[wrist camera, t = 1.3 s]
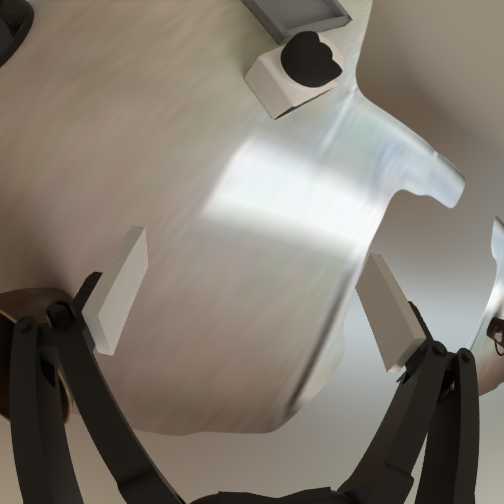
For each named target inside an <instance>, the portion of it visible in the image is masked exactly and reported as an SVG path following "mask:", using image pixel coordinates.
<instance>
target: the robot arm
mask: <svg viewBox="0 0 504 504" xmlns="http://www.w3.org/2000/svg"><path fill="white" fill-rule="evenodd" d="M33 18H34V11H33V8H32V7H31V5H30V4H29V3H28V2H27V1H26V0H0V67H1V66H2V65H3V64H4V63H5V62H6V61H7V60H8V59H9V58H10V57H11V56H12V55H13V53H14V52H15V51H16V50H17V49H18V47H19V46H20V44H21V43H22V42H23V40H24V38H25V37H26V35H27V33H28V32H29V30H30V27H31V25H32V22H33ZM147 269H148V257H147V246H146V233H145V227H139V226H132V228H131V229H130V231H129V232H128V234H127V235H126V237H125V238H124V240H123V241H122V243H121V244H120V246H119V248H118V249H117V251H116V252H115V254H114V256H113V257H112V259H111V260H110V262H109V264H108V265H107V267H106V269H105V270H104V272H103V273H101V272H93V273H92V274H91V275H89V276H88V277H87V278H86V280H85V281H84V283H83V285H82V286H81V288H80V290H79V292H78V293H77V295H76V296H75V298H74V300H73V302H72V303H70V302H69V301H67V300H64V299H59V300H55V301H53V302H51V303H50V304H49V305H48V306H47V308H46V310H45V317H46V319H47V321H48V323H38V322H37V321H36V319H35V318H34V317H32V316H24V317H22V318H20V319H19V320H18V321H17V322H16V324H15V326H14V331H13V339H12V349H11V362H10V387H9V399H10V423H11V436H12V445H13V453H14V459H15V466H16V471H17V476H18V481H19V486H20V490H21V494H22V498H23V504H84V503H83V499H82V496H81V493H80V490H79V487H78V483H77V480H76V476H75V473H74V469H73V465H72V461H71V457H70V452H69V448H68V443H67V438H66V433H65V427H64V421H63V414H62V406H61V398H60V388H59V376H58V366H62V367H63V370H64V373H65V376H66V379H67V381H68V384H69V387H70V390H71V392H72V395H73V397H74V400H75V402H76V405H77V407H78V409H79V412H80V414H81V416H82V419H83V421H84V423H85V425H86V427H87V429H88V431H89V433H90V435H91V437H92V439H93V442H94V443H95V445H96V447H97V449H98V451H99V453H100V455H101V457H102V458H103V460H104V462H105V464H106V465H107V467H108V469H109V470H110V472H111V474H112V475H113V477H114V479H115V480H116V482H117V485H118V489H119V491H120V494H121V495H122V497H123V498H124V500H125V501H126V502H127V504H186V503H185V501H184V500H183V499H182V498H181V497H180V496H179V494H178V493H177V492H176V491H175V490H174V488H173V487H172V486H171V485H170V484H169V483H168V481H167V480H166V479H165V477H164V476H163V475H162V473H161V472H160V471H159V469H158V468H157V467H156V465H155V464H154V462H153V461H152V460H151V458H150V457H149V455H148V454H147V452H146V451H145V449H144V448H143V446H142V445H141V443H140V442H139V440H138V439H137V437H136V435H135V434H134V432H133V431H132V429H131V427H130V425H129V424H128V422H127V420H126V419H125V417H124V415H123V413H122V412H121V410H120V408H119V406H118V404H117V402H116V400H115V399H114V397H113V395H112V393H111V391H110V389H109V387H108V385H107V383H106V381H105V379H104V377H103V375H102V372H101V370H100V368H99V366H98V364H97V361H96V359H95V357H94V355H93V350H94V347H95V346H96V348H97V350H98V352H99V353H103V354H107V355H111V356H113V355H114V352H115V349H116V346H117V343H118V341H119V338H120V335H121V332H122V330H123V327H124V324H125V322H126V319H127V317H128V314H129V312H130V309H131V307H132V304H133V302H134V299H135V297H136V294H137V292H138V289H139V287H140V285H141V282H142V280H143V278H144V275H145V273H146V271H147ZM355 288H356V291H357V293H358V296H359V298H360V301H361V303H362V306H363V308H364V311H365V313H366V316H367V318H368V321H369V323H370V326H371V329H372V331H373V334H374V337H375V339H376V342H377V345H378V348H379V351H380V353H381V356H382V359H383V362H384V365H385V368H386V371H387V373H389V372H398V371H399V370H400V369H401V368H402V367H403V366H404V365H405V367H406V371H405V372H404V373H403V374H402V376H401V377H400V378H399V379H398V380H397V381H396V382H399V381H400V380H401V381H400V383H399V386H398V388H397V390H396V393H395V395H394V397H393V400H392V402H391V404H390V406H389V408H388V410H387V413H386V415H385V417H384V419H383V421H382V423H381V425H380V427H379V429H378V430H377V432H376V434H375V436H374V438H373V440H372V442H371V443H370V445H369V447H368V449H367V451H366V452H365V454H364V456H363V458H362V459H361V461H360V462H359V464H358V466H357V467H356V469H355V470H354V472H353V474H352V475H351V476H350V478H349V479H348V480H346V481H345V482H344V483H343V484H342V485H341V486H340V487H339V489H338V490H337V491H333V490H331V489H330V487H324V488H317V489H308V490H303V491H300V492H297V493H294V494H291V495H288V496H284V497H280V498H272V497H266V496H261V495H256V494H252V493H246V492H241V493H240V492H218V494H213V495H209V496H205V497H202V498H199V499H197V500H195V501H193V502H192V503H190V504H404V502H405V500H406V498H407V496H408V494H409V492H410V490H411V488H412V485H413V482H414V478H413V477H412V476H411V472H412V469H413V467H414V465H415V463H416V460H417V458H418V455H419V453H420V450H421V448H422V445H423V443H424V440H425V437H426V435H427V432H428V435H427V443H426V449H425V456H424V462H423V467H422V472H421V478H420V482H419V486H418V490H417V495H416V499H415V504H475V495H474V492H475V485H476V477H477V468H478V456H479V455H478V454H479V396H478V383H477V373H476V365H475V359H474V356H473V354H472V353H471V351H469V350H468V349H466V348H460V349H459V351H458V352H457V353H452V352H448V351H447V349H446V347H445V346H444V345H443V344H442V343H440V342H438V341H434V340H433V338H432V336H431V334H430V332H429V330H428V328H427V326H426V324H425V322H424V321H423V318H422V317H421V315H420V312H419V311H418V309H417V307H416V306H415V305H414V304H413V303H412V302H411V301H407V299H406V297H405V295H404V294H403V292H402V290H401V288H400V286H399V285H398V283H397V281H396V279H395V278H394V276H393V274H392V272H391V271H390V269H389V267H388V266H387V264H386V262H385V261H384V259H383V257H382V256H381V255H380V254H375V253H370V255H369V257H368V260H367V262H366V264H365V267H364V269H363V271H362V273H361V276H360V278H359V280H358V282H357V284H356V287H355ZM453 385H454V390H453Z"/></svg>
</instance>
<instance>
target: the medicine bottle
mask: <svg viewBox="0 0 504 504" xmlns="http://www.w3.org/2000/svg"><path fill="white" fill-rule="evenodd" d="M343 69H344V59H343V55H342V52H341V50H340V49H339V47H338V46H337V45H336V43H335V42H334V41H333V40H331V39H330V38H329V37H327V36H325V35H323V34H321V33H318V32H314V31H302V32H299V33H297V34H296V35H294V36H293V37H292V39H291V40H290V41H289V42H288V43H287V44H286V45H284V46H281V47H278V48H276V49H273V50H271V51H268V52H266V53H263V54H261V55H259V56H258V57H257V59H256V60H255V62H254V63H253V65H252V66H251V68H250V70H249V71H248V73H247V74H246V76H245V81H246V82H247V83H248V85H249V86H250V87H251V89H252V90H253V92H254V93H255V94H256V96H257V97H258V99H259V100H260V102H261V103H262V104H263V106H264V107H265V109H266V110H267V112H268V113H269V115H270V116H271V118H272V119H273V120H277V119H278V118H280V117H282V116H284V115H285V114H287V113H289V112H291V111H293V110H295V109H297V108H298V107H300V106H302V105H304V104H306V103H308V102H310V101H312V100H314V99H315V98H317V97H319V96H320V95H322V94H324V93H325V92H327V91H329V90H331V89H332V88H334V87H336V86H337V85H338V82H337V80H336V79H335V78H337V77H338V76H339V75H340V74H341V73H342V71H343Z"/></svg>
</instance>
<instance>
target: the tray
mask: <svg viewBox="0 0 504 504" xmlns="http://www.w3.org/2000/svg"><path fill="white" fill-rule="evenodd" d="M241 1H242V2H243V3H244V4H245V5H246V6H247V7H248V9H249V10H250V11H251V12H252V13H253V14H254V15H255V17H256V18H257V19H258V20H259V21H260V23H261V24H262V25H263V26H264V27H265V29H266V30H267V31H268V32H269V34H270V35H271V36H272V37H273V39H274V40H275V41H276V43H277V44H278V45H281V44H284V43H287V42H289V41H290V40H291V39H292V37H293V36H294V35H296V34H297V33H299V32H302V31H314V32H318V33H319V32H323V31H326V30H330V29H334V28H338V27H342V26H345V25H347V24H348V23H349V22H350V21H352V20H353V19H352V18H351V17H350V16H349V14H348V13H347V12H346V10H345V9H344V8H343V7H342V6H341V4H340V3H339V2H338V1H337V0H241Z"/></svg>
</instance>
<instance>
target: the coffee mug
mask: <svg viewBox="0 0 504 504" xmlns="http://www.w3.org/2000/svg"><path fill="white" fill-rule="evenodd" d="M487 336H488V337H490V338H491V339H492V340H494V342H495V348H496V351H497V353H498V355H500V356H503V355H504V353H503V354H500V353H499V352H498V349H497V344H496V343H498V344H499V345H500V346H502V347H503V348H504V320H502V319H499V318H496V317H494V318H493V319H492V320H491V322H490V324H489V326H488V329H487Z"/></svg>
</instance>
